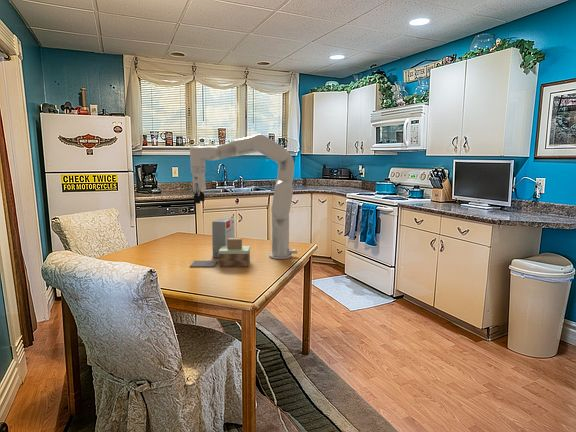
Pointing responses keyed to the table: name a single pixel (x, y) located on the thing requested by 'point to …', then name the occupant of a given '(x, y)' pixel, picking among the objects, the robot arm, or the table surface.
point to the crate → (234, 260)
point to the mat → (203, 264)
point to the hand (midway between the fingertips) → (199, 202)
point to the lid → (234, 247)
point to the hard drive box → (221, 233)
